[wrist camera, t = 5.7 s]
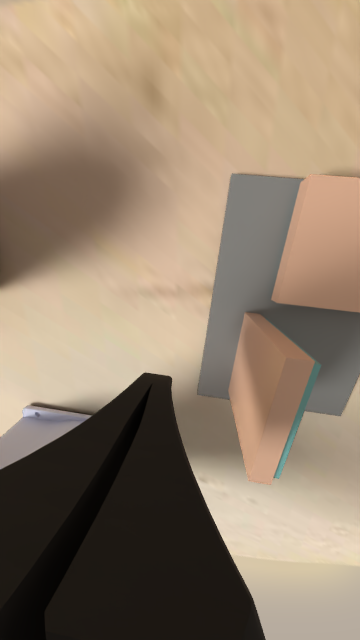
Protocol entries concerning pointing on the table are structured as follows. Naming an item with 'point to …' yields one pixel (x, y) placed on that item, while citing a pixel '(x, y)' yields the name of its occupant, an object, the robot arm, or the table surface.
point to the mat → (256, 292)
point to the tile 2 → (322, 246)
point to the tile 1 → (268, 395)
